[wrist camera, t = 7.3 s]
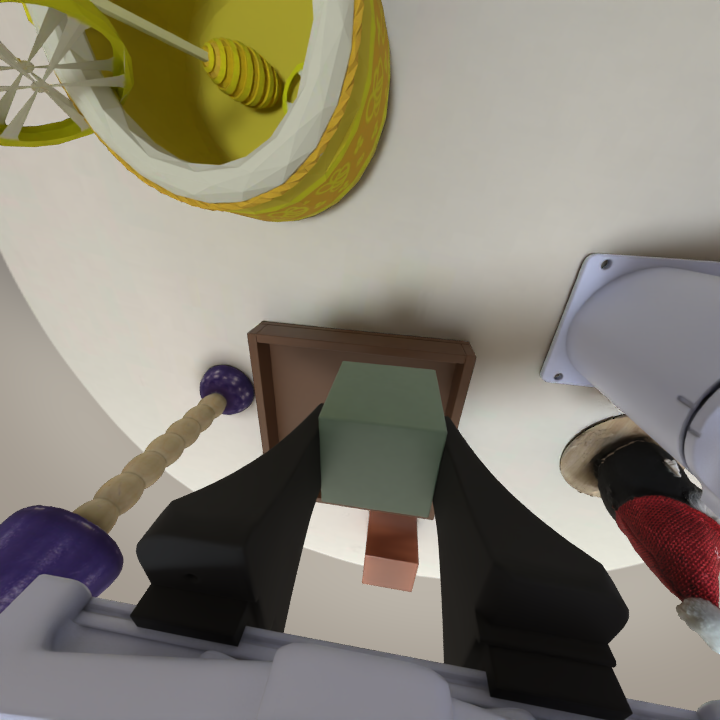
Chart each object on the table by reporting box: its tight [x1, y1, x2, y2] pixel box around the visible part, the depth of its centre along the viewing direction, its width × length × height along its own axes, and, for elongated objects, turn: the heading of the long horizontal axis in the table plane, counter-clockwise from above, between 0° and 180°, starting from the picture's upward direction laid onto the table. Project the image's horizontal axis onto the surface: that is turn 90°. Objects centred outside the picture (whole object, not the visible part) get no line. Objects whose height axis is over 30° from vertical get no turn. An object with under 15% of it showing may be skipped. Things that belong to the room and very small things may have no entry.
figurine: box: [560, 415, 720, 654], centre depth 19 cm, size 8×10×12 cm
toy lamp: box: [0, 365, 254, 614], centre depth 16 cm, size 5×5×17 cm
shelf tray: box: [247, 322, 476, 520], centre depth 22 cm, size 14×15×2 cm
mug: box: [0, 0, 390, 222], centre depth 9 cm, size 13×11×12 cm
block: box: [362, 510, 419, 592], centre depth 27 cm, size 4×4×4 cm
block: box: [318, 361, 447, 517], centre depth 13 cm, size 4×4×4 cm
